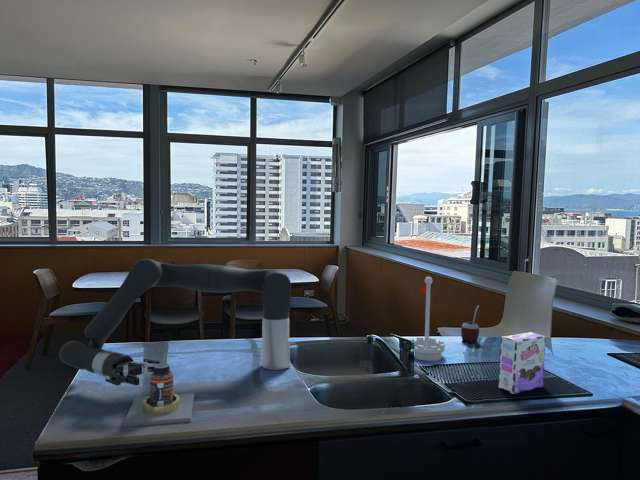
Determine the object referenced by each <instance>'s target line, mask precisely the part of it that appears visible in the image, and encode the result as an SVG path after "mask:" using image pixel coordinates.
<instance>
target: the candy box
mask: <svg viewBox="0 0 640 480" xmlns="http://www.w3.org/2000/svg"><path fill="white" fill-rule="evenodd" d="M499 347H500V348H499V350H500V353H499V354H500V355H499V366H498V367H499V368H498V371H499V372H498V388H499V389H501V390H504V391H506V392H508V393H510V394H512V395H514V394H520V393H524V392H527V391H528V392H529V391H532V390H536V389H539V388H543V387H544V376H545V358H546V357H545V355H546V336H545V335H542V334H539V333H535V332H531V331H529V332H524V333H516V334H511V335H504V336H500V346H499Z"/></svg>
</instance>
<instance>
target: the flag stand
mask: <svg viewBox="0 0 640 480" xmlns="http://www.w3.org/2000/svg"><path fill="white" fill-rule="evenodd" d="M424 283H425V284H424V285H422V286H420V287H417V289H418V290H419V291H421V293H422V294H424V295H425V314H424V315H425V317H424V318H425V319H424V321H425V322H424V323H425V324H424V336H419V337H418V336H417V337H416V340H415V338H410V339H409V340H410V341H412V342H413V343H414V345H415V358H414V359H416V360H421V361H426V362H427V361H430V362H433V361H439V360H441V359H442V355H443V354H442V353H443V352H445V348H446V347H445V346H446V345H445V342H444V340H441V339H440V340H438V341H437V340H436V339H437V338H435V337H430V316H431V313H430V311H431V288H432V287H431V285H432V283H433V278H432V277H431V276H426V277H425V279H424Z"/></svg>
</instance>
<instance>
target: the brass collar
mask: <svg viewBox="0 0 640 480" xmlns="http://www.w3.org/2000/svg"><path fill="white" fill-rule="evenodd" d="M177 394H178V393H177ZM177 394H176V393H173V402H172V403H170V404H167V405H162V406H153V405H150V395H148V396H149V397H147V398H145V399H144V401H143V411H144V412H145V413H147V414H152V415H159V414H166V413H170V412H173V411H175V410H176V409H178V408H179V405H180V396H178V395H177Z"/></svg>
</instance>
